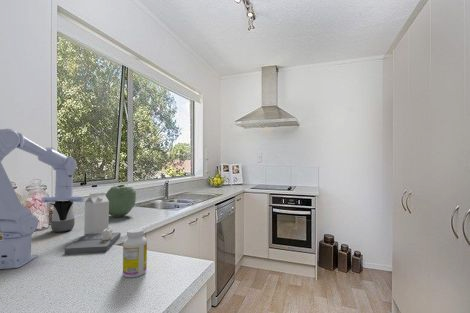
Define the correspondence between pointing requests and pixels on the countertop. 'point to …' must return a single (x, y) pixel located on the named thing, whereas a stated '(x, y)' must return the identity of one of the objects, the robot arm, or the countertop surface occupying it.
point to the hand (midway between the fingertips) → (63, 220)
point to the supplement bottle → (134, 253)
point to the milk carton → (96, 214)
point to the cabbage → (121, 200)
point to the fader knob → (107, 234)
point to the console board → (92, 243)
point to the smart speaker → (65, 224)
